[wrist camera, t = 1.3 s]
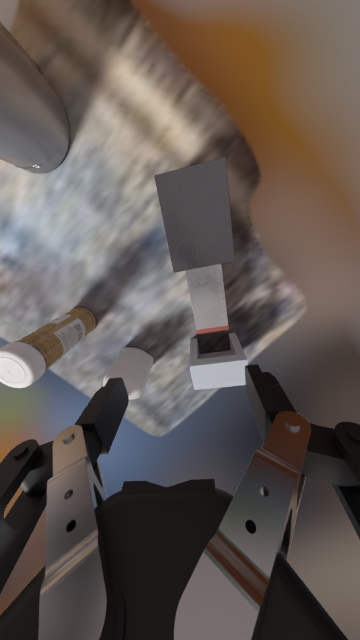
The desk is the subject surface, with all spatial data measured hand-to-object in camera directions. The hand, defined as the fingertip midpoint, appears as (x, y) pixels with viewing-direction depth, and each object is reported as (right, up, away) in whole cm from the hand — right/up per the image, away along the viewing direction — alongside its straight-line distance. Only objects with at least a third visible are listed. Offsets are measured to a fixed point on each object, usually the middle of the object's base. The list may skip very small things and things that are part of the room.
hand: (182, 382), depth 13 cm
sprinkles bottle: (-16, +4, +19) cm, 25 cm away
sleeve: (+2, +16, +13) cm, 20 cm away
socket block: (+5, 0, +19) cm, 19 cm away
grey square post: (+3, +12, +14) cm, 18 cm away
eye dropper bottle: (-7, -2, +21) cm, 22 cm away
